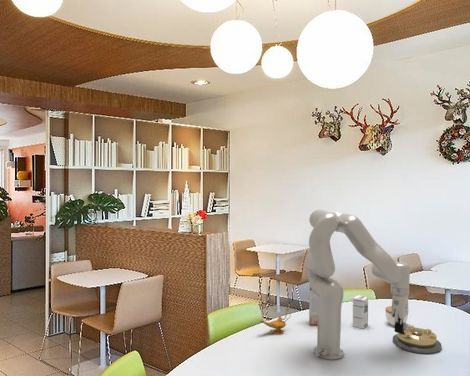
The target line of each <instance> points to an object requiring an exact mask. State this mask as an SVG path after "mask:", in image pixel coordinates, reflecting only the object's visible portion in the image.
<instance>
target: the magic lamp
mask: <svg viewBox="0 0 470 376" xmlns="http://www.w3.org/2000/svg"><path fill="white" fill-rule="evenodd" d="M285 310H286V311H287V313H285V316H284V318H283V317H282V316H281V315H279V316H278V318H277V319H275V320H272V321H270V322H267V321H263V320H260V321H259V322H260V323H262V324H264V325H266V326H267V327H269V328H272V329H273V330H272V332H273V333H274V334H277V335H278V334H279V335H280V334H281V335H282V334H283V333H284V330H282V329H284V328H285V327H286V326H287V325H288V324H287V323H286V322H287V321H288V320H289V319H290V318H291V315H292V314H291V312H290V311H289V310H290V306H288V307H286V309H285ZM288 313H289V316H288V317H287V315H288ZM284 320H285V321H284Z"/></svg>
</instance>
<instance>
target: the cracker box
mask: <svg viewBox="0 0 470 376" xmlns="http://www.w3.org/2000/svg"><path fill="white" fill-rule="evenodd" d="M308 285H309V290H308V291H309V294H308V295H309V298H308V299H309V301H308V304H309V305H308V306H309V307H308V309H309V310H308V311H309V312H308V322H309V326H318V307H319V303H320V297H319V296H317V295H316V294H315V293H314V292H313V291H312V289H311V287H310V283H308Z"/></svg>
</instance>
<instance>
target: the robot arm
mask: <svg viewBox="0 0 470 376" xmlns="http://www.w3.org/2000/svg"><path fill="white" fill-rule="evenodd" d="M308 219H309V224H310V226H311V227H312V230H311V233H310V235H309V239H308V246H309V250H310V252H309V253H308V254H307V255H306V257H305V262H304V265H305V266H304V267H305V270H306V275H307V279H308V282H309V283H310V287H311V289H312V291H313V292H314V293H315V294H316V295H317V296H319V297H320V303H319V307H318V325H317V332H316V333H317V337H316V338H317V339H316V340H317V341H316V344H317V345H316V346H314V348H313V354H314V355H315V356H316V357H318V356H319V357H318V358H320V359H321V358H322V359H324V360H338V359H341V358H343V357H344V356H345V351H344V349H342V348H341V330H342V327H341V326H342V325H341V324H342V304H343V300H344V289H343V287H342V285H341V283H339V282H338V281H337V280H335V279H334V278H332V277H333V275H334V274H335V270H336V266H335V265H336V264H335V260H334V258H333V252H332V249H331V238H332V236H333V234H334V233H335V232H339V233H342V234H344V235H345V236H346V237H347V238H348V240H349V242H350V243H351V244H352V246H353V247H354V249H355V250H356V251H357V252H358V253H359V255H361V256H362V257H364V259H366V260H367V261H369V262H370V263H371V264H373V265H372V266H371V273H372V274H373V276H375V278H377V279H379V280H381V281H383V282H386V283H388V284H390V295H392V299H391V306H392V317H393V318H394V317H395V319H394V322H395V326H394V332H395V333H396V334H398V333H402V332H403V319H404V318H405V317H406V316H407V315H408V316H409V296H410V273H411V268H410V267H411V265H410V264H409V263H408V262H405V261H395V260H394V258H393V257H392V256H391V255H390V253H388V252H387V251H386V250H385V249H384V248H383V247H382V246H381V245H380V244H379V243H378V242H377V241H376V240H375V238H374V237H373V236H372V234H371V233H370V232H369V230H368V229H367V227H366V226H365V224H364V223H363V222H362V221H361V220H360V218H359V217H357V216H356V215H353V214H350V213H343V212H342V213H341V212H336V211H330V210H329V211H327V210H323V209H318V210H316V209H315V210H313V212H312V213H310V215H309V217H308ZM309 283H308V284H309Z"/></svg>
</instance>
